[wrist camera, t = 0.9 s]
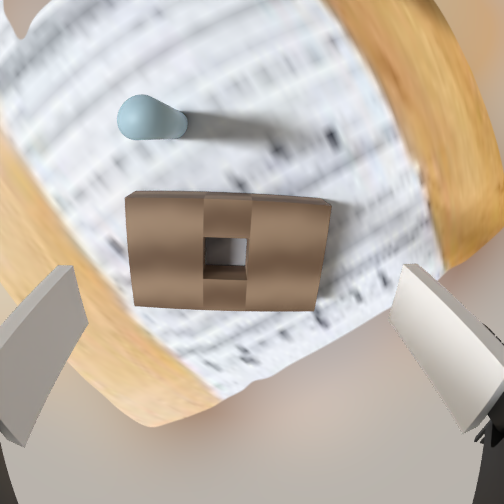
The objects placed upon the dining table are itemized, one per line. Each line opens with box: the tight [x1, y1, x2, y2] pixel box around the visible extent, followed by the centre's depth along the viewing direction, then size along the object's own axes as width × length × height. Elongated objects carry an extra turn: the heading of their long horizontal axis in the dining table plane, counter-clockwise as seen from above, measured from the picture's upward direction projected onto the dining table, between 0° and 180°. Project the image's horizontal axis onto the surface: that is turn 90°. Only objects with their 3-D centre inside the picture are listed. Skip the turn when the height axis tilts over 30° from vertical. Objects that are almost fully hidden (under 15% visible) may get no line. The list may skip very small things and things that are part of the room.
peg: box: [117, 95, 188, 140], centre depth 22 cm, size 3×3×12 cm
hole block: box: [125, 191, 332, 311], centre depth 31 cm, size 12×20×4 cm, turn 86°
